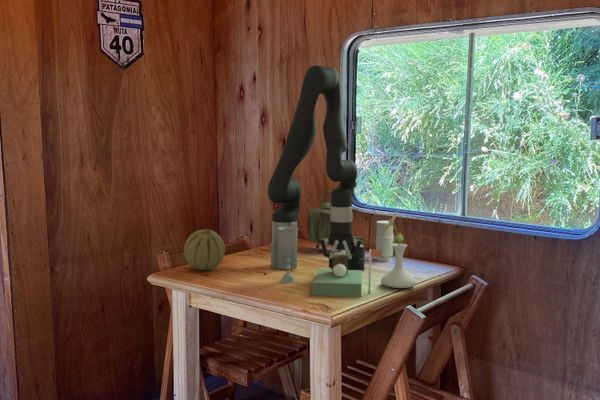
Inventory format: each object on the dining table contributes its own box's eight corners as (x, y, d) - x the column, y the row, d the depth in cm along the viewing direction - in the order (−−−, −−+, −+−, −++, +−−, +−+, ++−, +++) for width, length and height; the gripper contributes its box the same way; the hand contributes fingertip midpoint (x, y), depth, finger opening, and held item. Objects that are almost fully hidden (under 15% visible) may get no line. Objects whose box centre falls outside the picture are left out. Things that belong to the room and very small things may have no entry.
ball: (332, 278, 200) (333, 268, 197) (332, 270, 204) (334, 260, 201) (345, 280, 200) (346, 270, 197) (346, 272, 203) (347, 261, 201)
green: (312, 295, 188) (312, 282, 187) (318, 275, 212) (318, 264, 211) (361, 296, 186) (361, 284, 185) (361, 277, 210) (362, 265, 210)
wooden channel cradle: (332, 272, 202) (332, 257, 202) (333, 268, 208) (333, 254, 208) (347, 273, 202) (347, 258, 201) (347, 268, 208) (348, 254, 207)
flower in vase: (392, 280, 207) (394, 207, 204) (422, 285, 199) (424, 210, 196) (371, 287, 197) (373, 211, 194) (402, 294, 189) (404, 214, 186)
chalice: (290, 285, 199) (291, 230, 197) (273, 282, 203) (273, 228, 200) (302, 280, 205) (303, 227, 203) (285, 277, 209) (286, 225, 207)
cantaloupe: (202, 263, 229) (201, 224, 227) (233, 268, 222) (233, 227, 220) (175, 271, 217) (174, 229, 215) (207, 276, 209) (206, 233, 207)
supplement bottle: (363, 272, 217) (364, 239, 216) (344, 271, 219) (345, 238, 217) (365, 268, 224) (366, 235, 222) (347, 266, 225) (347, 235, 224)
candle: (394, 261, 234) (395, 223, 232) (376, 261, 234) (377, 223, 233) (392, 257, 241) (393, 220, 239) (374, 257, 241) (375, 220, 239)
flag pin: (368, 293, 190) (369, 249, 188) (368, 293, 190) (369, 249, 189) (380, 293, 189) (382, 249, 188) (380, 293, 190) (381, 249, 188)
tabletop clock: (345, 251, 253) (347, 191, 250) (335, 255, 246) (336, 193, 243) (316, 247, 261) (316, 189, 258) (304, 250, 253) (305, 191, 250)
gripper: (319, 220, 200) (318, 271, 202) (362, 221, 199) (361, 272, 201) (320, 217, 208) (319, 266, 210) (362, 218, 206) (361, 267, 209)
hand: (340, 269), depth 206 cm, fingers closed on wooden channel cradle, 5 cm apart
